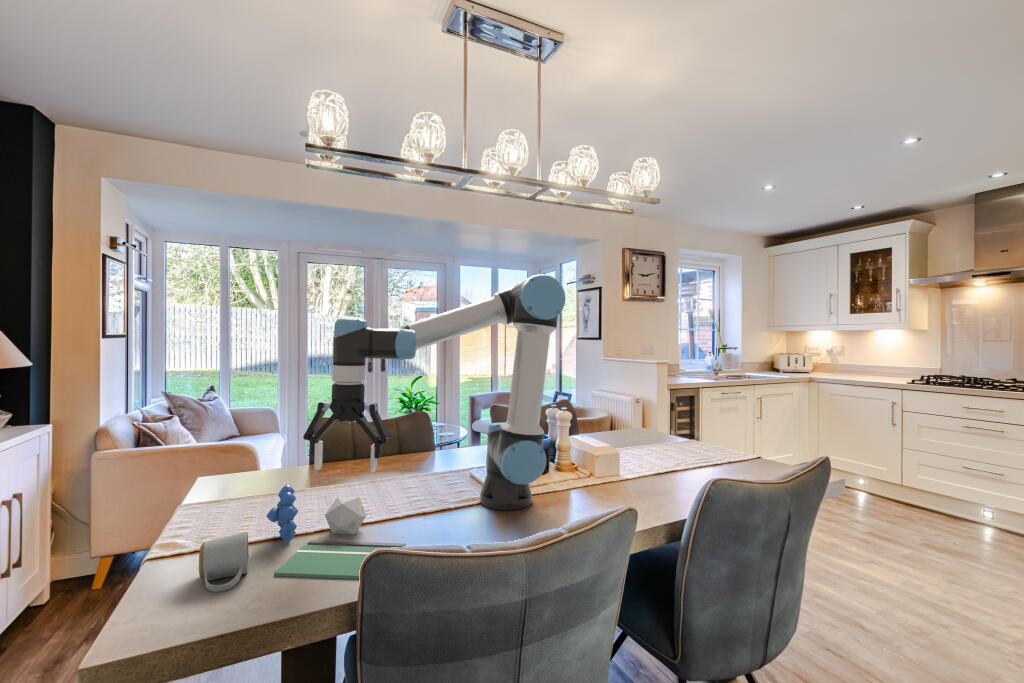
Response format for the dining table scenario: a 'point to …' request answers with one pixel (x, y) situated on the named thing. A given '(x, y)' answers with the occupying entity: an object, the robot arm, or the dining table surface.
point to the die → (345, 515)
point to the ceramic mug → (224, 560)
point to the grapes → (285, 513)
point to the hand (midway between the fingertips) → (345, 470)
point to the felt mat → (325, 562)
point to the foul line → (356, 543)
